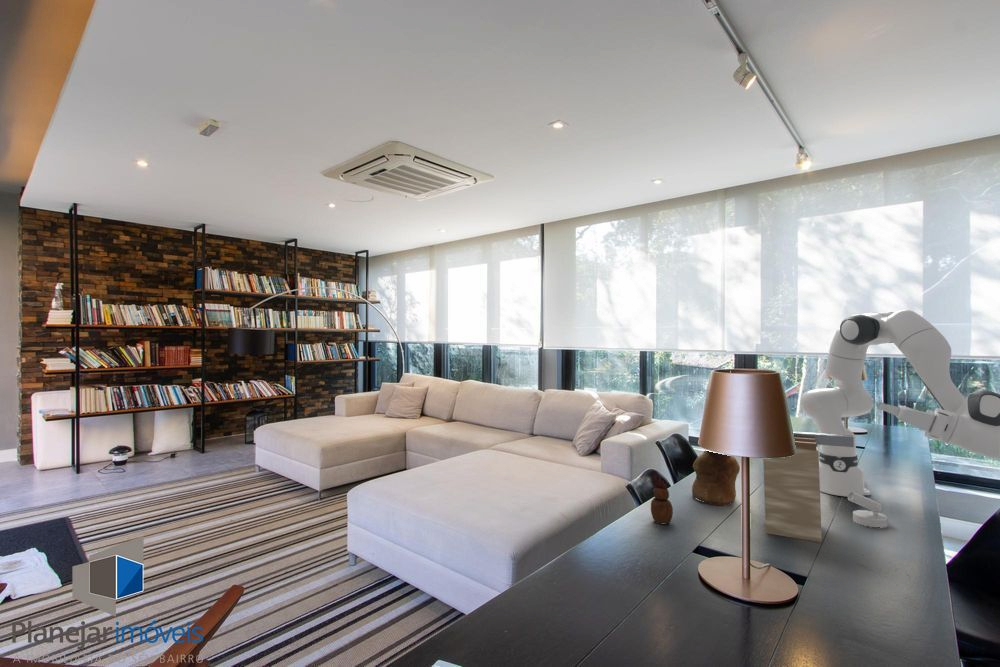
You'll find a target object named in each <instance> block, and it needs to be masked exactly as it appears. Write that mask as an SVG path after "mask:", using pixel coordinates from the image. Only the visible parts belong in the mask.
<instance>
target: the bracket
mask: <svg viewBox="0 0 1000 667" xmlns="http://www.w3.org/2000/svg"><path fill="white" fill-rule="evenodd" d="M792 431H793V430H792ZM793 434H794V437H799V438H813V439H815V443H816V444H817V446H818V445H819V446H820V445H830V446H843V447H854V438H853V436H852V435H840V434H825V433H819V432H809V431H808V432H806V431H793Z"/></svg>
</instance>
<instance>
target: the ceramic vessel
mask: <svg viewBox="0 0 1000 667" xmlns="http://www.w3.org/2000/svg"><path fill="white" fill-rule="evenodd" d="M740 468H741V467H740V464H739V462H738V461H737V459H736V457H735V456H733V455H732V456H727V455H722V454H718V453H713V452H709V451H706V450H704V451H703V452H702V454H700V455H698V456H697V457H696V459H695V460H694V461H693V464H692V469H693V471H694V472H695V475H696V477H695V479H694V480H693V484H692V486H691V494H692V497H693V496H694V497H695V498H697V499H699V500H701V501H704V502H706V503H705V504H708V503H710V504H709V505H714V504H715V505H714V506H729V505H731V504H733V502H735V501H736V498H737V497H736V496H737V491H736V482H737V481H736V480H737V478H738V475H739V473H740ZM730 503H731V504H730ZM728 504H729V505H728Z"/></svg>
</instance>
